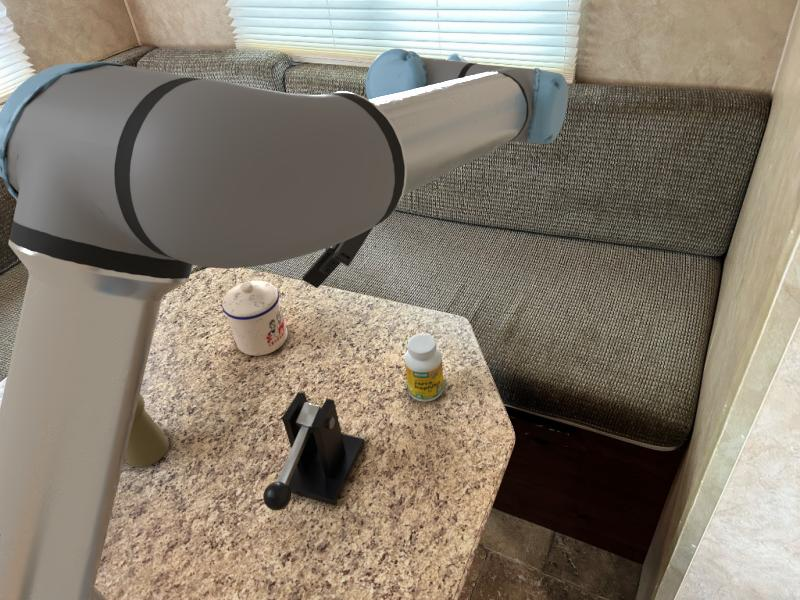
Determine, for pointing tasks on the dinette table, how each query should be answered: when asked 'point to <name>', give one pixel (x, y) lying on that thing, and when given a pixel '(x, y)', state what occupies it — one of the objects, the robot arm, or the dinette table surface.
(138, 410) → the olive green pawn
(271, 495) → the lever with black knob
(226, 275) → the dinette table surface
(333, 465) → the black lever base
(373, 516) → the dinette table surface
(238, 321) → the teacup with lid
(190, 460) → the dinette table surface
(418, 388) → the supplement bottle
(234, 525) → the dinette table surface
